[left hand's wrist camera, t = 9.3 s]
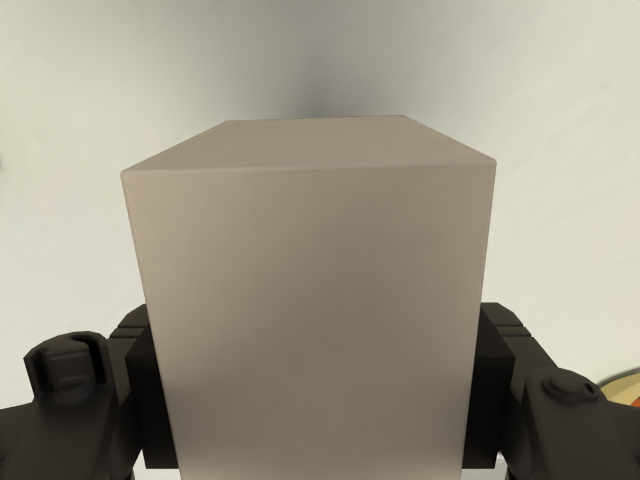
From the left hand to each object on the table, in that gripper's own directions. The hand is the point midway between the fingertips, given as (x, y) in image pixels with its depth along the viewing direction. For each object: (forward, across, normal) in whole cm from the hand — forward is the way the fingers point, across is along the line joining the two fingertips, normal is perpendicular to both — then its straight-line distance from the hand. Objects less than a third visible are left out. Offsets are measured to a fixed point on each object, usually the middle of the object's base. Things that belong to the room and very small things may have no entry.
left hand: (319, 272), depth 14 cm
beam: (+1, +1, -22) cm, 23 cm away
